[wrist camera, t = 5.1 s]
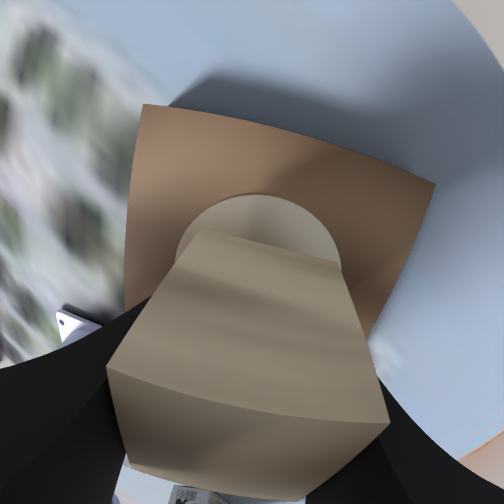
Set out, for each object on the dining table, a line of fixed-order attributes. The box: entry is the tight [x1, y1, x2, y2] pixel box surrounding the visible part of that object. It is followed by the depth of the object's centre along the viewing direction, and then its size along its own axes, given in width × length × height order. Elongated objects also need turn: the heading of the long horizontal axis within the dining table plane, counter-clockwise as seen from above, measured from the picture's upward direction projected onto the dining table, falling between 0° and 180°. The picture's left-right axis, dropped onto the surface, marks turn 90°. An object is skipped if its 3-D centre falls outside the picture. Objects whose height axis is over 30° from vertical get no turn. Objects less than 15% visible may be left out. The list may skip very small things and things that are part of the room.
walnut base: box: [124, 104, 435, 339], centre depth 13 cm, size 12×12×3 cm
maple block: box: [106, 228, 390, 502], centre depth 7 cm, size 4×4×6 cm
